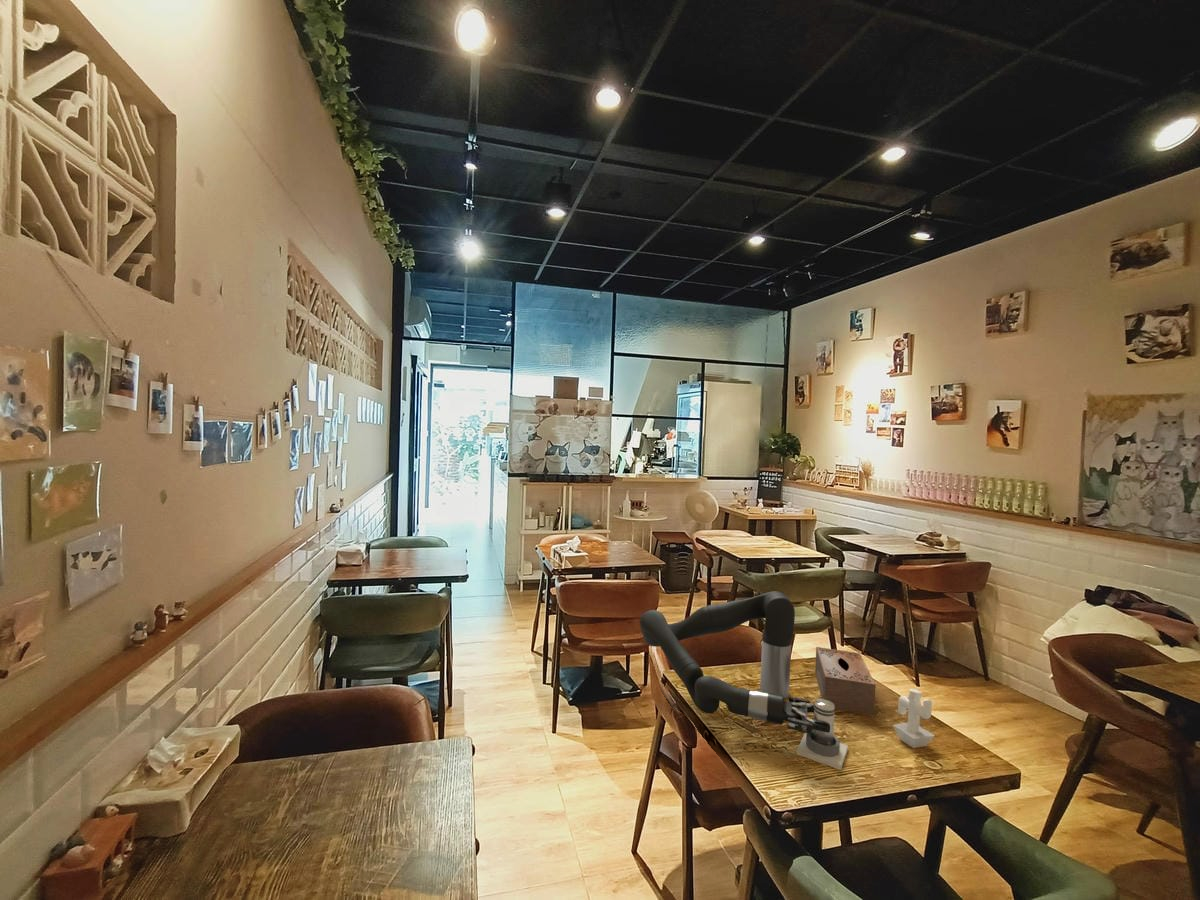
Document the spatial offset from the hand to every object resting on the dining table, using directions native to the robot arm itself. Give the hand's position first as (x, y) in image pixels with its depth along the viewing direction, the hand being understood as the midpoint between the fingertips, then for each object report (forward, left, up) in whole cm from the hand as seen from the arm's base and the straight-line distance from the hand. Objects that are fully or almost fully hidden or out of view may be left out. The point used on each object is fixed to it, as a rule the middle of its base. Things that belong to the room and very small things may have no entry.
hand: (828, 720), depth 139 cm
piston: (0, -1, -8) cm, 8 cm away
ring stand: (0, -1, -9) cm, 9 cm away
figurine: (-21, +19, -9) cm, 29 cm away
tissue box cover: (-41, -3, -9) cm, 42 cm away
